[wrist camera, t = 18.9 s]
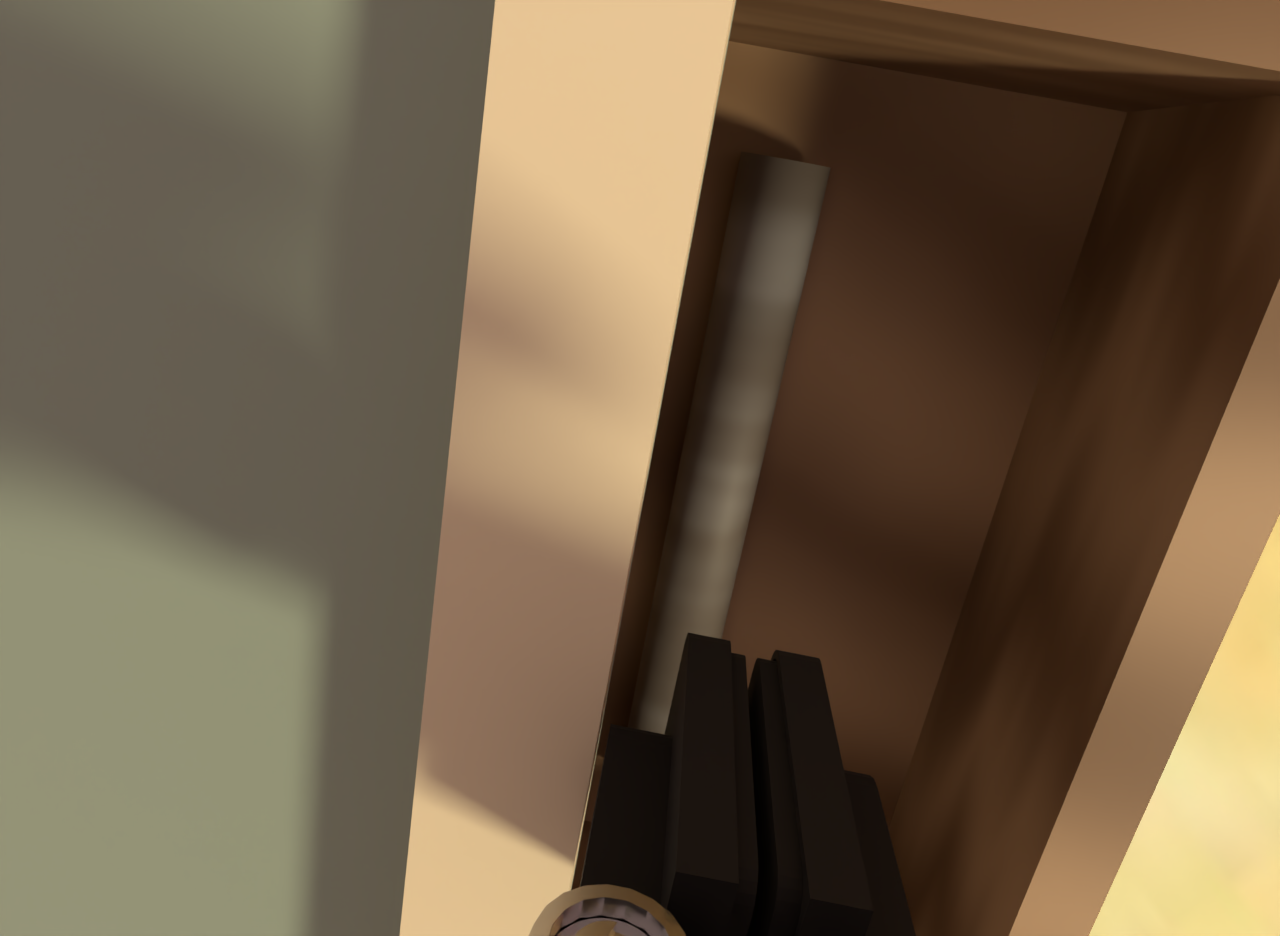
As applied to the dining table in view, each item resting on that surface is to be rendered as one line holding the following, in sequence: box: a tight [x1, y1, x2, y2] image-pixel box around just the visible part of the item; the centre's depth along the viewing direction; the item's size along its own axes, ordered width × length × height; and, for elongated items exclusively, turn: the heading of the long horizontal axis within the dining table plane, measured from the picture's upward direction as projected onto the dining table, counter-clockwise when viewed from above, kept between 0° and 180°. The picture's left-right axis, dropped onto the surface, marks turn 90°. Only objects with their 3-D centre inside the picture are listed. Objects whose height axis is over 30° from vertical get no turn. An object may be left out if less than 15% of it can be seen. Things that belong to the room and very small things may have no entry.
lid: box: [0, 0, 736, 936], centre depth 12 cm, size 20×14×3 cm
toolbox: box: [571, 0, 1280, 936], centre depth 16 cm, size 20×14×7 cm
